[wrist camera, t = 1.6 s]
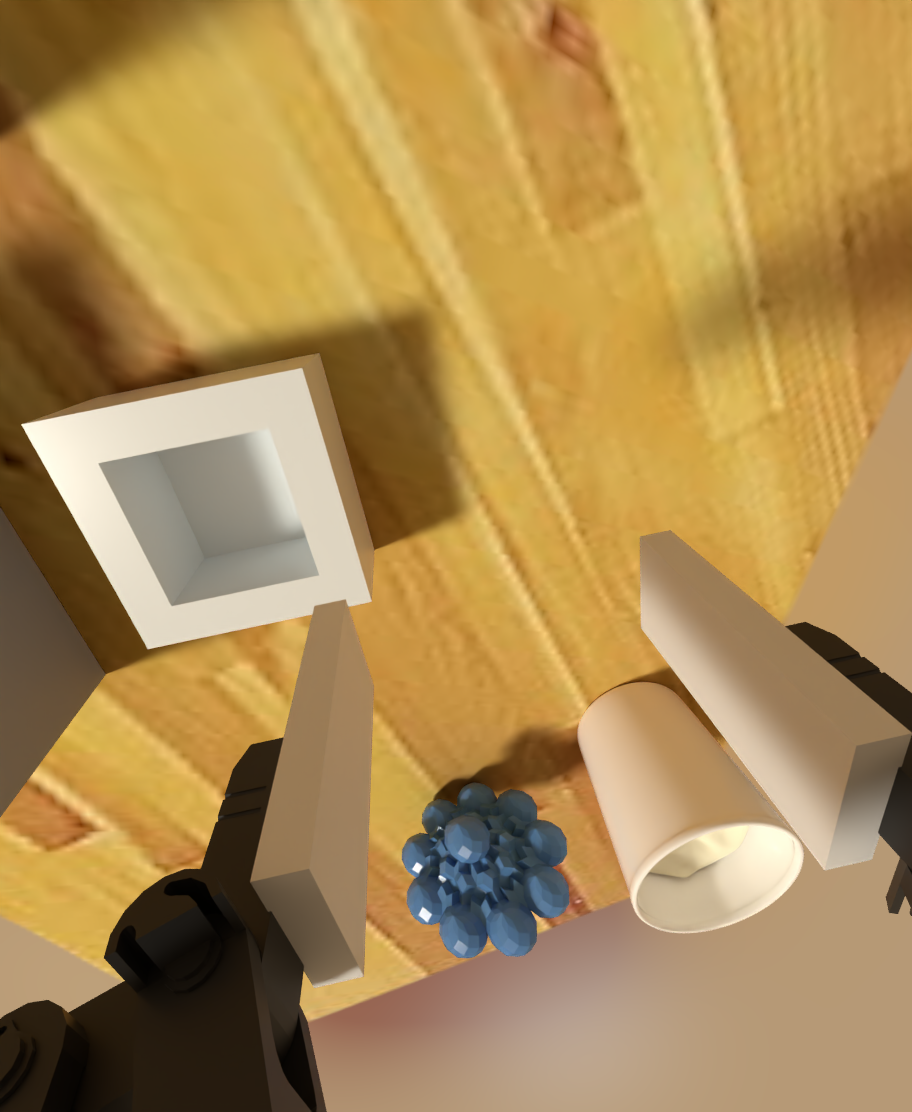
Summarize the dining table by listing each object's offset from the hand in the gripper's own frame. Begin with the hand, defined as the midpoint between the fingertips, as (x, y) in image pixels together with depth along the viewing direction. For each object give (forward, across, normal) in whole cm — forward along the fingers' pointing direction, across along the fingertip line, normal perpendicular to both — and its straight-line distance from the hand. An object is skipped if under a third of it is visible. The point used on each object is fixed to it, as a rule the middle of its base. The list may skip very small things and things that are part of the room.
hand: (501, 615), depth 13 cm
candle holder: (+17, +10, -24) cm, 31 cm away
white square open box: (+17, -10, 0) cm, 20 cm away
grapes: (+17, -3, -26) cm, 31 cm away
